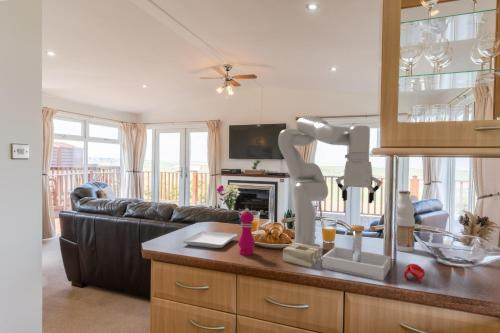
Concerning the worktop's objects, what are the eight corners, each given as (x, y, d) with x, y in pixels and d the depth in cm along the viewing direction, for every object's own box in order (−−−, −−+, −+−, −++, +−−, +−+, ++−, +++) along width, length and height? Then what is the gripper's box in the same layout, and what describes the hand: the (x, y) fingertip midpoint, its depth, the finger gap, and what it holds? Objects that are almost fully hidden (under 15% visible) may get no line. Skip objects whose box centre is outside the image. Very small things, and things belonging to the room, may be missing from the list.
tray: (334, 257, 131) (335, 246, 131) (390, 267, 119) (390, 256, 119) (322, 267, 117) (322, 256, 117) (383, 280, 105) (383, 267, 105)
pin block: (295, 254, 135) (295, 242, 134) (321, 259, 128) (321, 247, 128) (282, 261, 124) (283, 249, 124) (310, 267, 118) (310, 254, 118)
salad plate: (181, 247, 144) (181, 239, 144) (201, 236, 164) (201, 230, 164) (222, 251, 137) (222, 244, 137) (238, 240, 158) (238, 233, 158)
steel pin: (351, 262, 121) (353, 224, 121) (364, 264, 119) (365, 226, 118) (348, 265, 117) (349, 226, 117) (361, 268, 115) (362, 228, 114)
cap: (423, 277, 101) (429, 265, 104) (405, 267, 104) (411, 256, 107) (417, 290, 105) (423, 277, 109) (400, 280, 109) (406, 268, 112)
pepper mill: (252, 256, 130) (253, 210, 130) (236, 255, 132) (237, 209, 131) (255, 251, 137) (256, 207, 137) (240, 250, 139) (241, 206, 138)
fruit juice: (396, 251, 141) (398, 191, 140) (389, 246, 150) (390, 189, 150) (417, 252, 140) (419, 192, 140) (409, 247, 149) (410, 190, 149)
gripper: (333, 157, 119) (332, 200, 120) (380, 157, 110) (379, 205, 110) (339, 157, 125) (338, 198, 126) (384, 158, 116) (383, 202, 116)
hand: (357, 201), depth 118 cm, fingers open, 9 cm apart
